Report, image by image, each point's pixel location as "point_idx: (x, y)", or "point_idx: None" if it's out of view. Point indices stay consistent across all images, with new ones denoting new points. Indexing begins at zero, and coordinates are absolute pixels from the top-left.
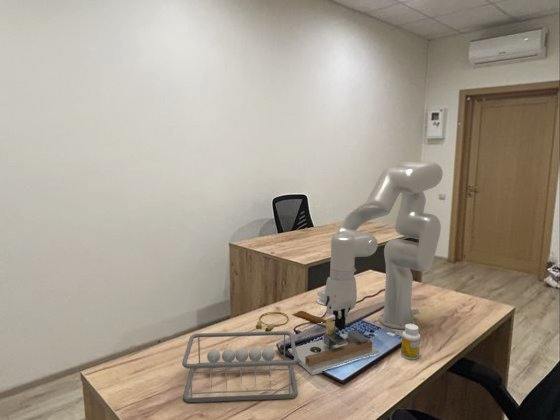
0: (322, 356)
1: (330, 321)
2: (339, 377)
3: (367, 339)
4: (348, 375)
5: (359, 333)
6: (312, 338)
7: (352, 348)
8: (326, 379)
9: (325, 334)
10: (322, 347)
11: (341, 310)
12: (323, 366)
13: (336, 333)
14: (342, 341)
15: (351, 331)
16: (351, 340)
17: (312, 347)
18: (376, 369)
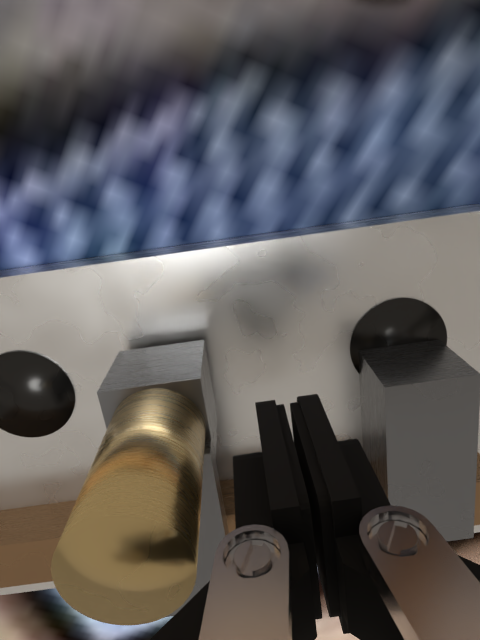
0: (2, 582)
1: (104, 601)
2: (96, 624)
3: (466, 533)
4: (154, 622)
5: (476, 442)
6: (109, 110)
7: None
8: (16, 621)
9: (113, 404)
10: (97, 379)
11: (409, 606)
12: (11, 587)
13: (212, 478)
14: None
15: (434, 383)
16: (368, 415)
17: (8, 357)
18: (337, 618)
